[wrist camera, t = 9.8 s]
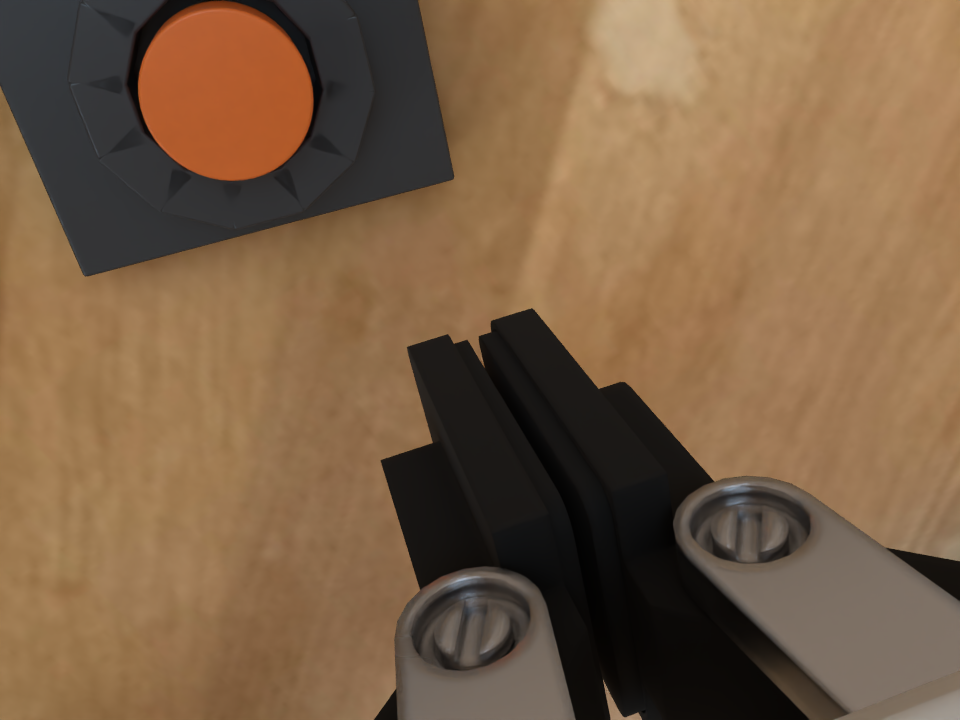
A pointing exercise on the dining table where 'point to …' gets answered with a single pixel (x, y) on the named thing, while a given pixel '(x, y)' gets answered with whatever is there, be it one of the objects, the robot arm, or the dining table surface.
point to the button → (225, 91)
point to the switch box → (185, 194)
